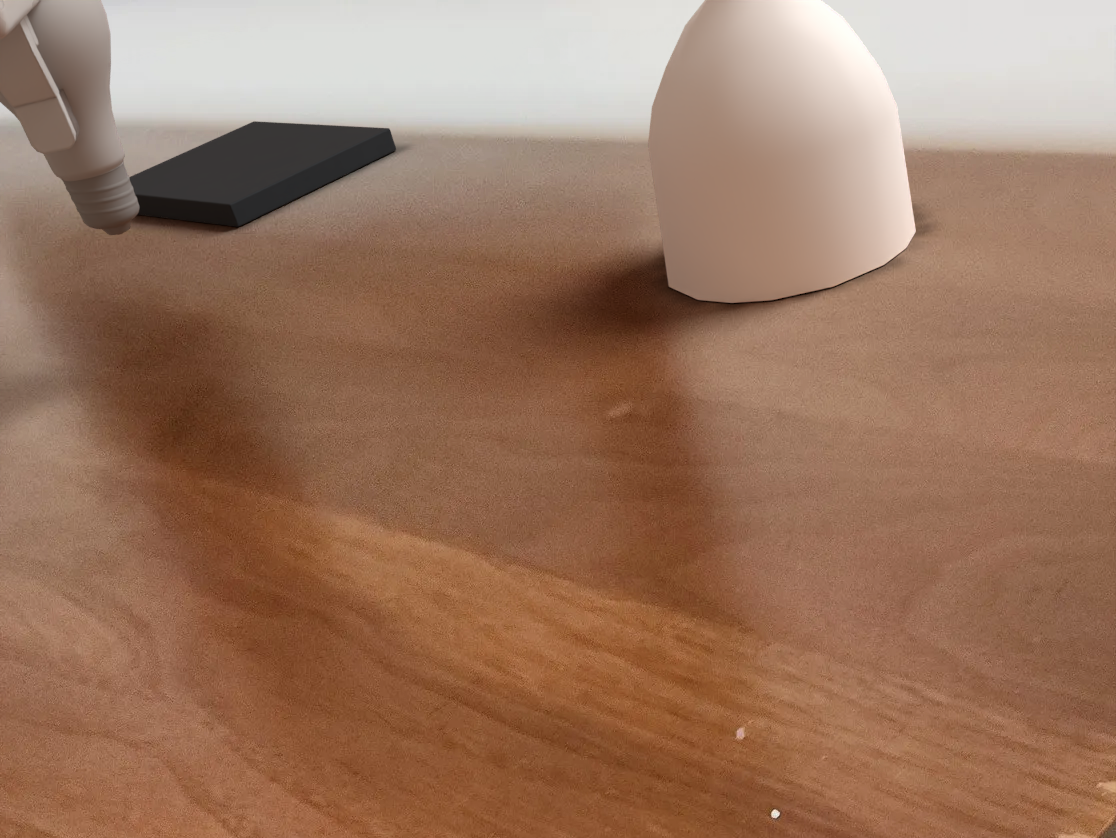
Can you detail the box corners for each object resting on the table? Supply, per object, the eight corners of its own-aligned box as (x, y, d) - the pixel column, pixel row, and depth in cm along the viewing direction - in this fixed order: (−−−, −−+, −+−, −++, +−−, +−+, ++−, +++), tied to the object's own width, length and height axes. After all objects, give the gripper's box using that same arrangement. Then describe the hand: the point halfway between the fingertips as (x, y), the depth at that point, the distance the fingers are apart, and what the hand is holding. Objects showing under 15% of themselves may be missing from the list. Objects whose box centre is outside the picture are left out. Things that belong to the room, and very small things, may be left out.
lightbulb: (57, 273, 61) (-90, -36, 53) (47, 236, 65) (-91, -56, 58) (196, 230, 62) (72, -78, 55) (178, 197, 67) (60, -94, 59)
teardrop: (859, 182, 67) (823, -140, 58) (958, 247, 59) (933, -114, 50) (635, 251, 66) (565, -67, 57) (705, 326, 58) (636, -29, 49)
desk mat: (108, 211, 88) (98, 190, 87) (261, 141, 93) (254, 120, 92) (238, 227, 80) (229, 204, 79) (397, 150, 86) (390, 127, 85)
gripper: (-127, -302, 58) (46, 85, 68) (-307, -269, 44) (-55, 216, 54) (24, -338, 58) (175, 55, 68) (-107, -317, 44) (109, 177, 54)
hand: (73, 127), depth 61 cm, fingers closed on lightbulb, 5 cm apart
